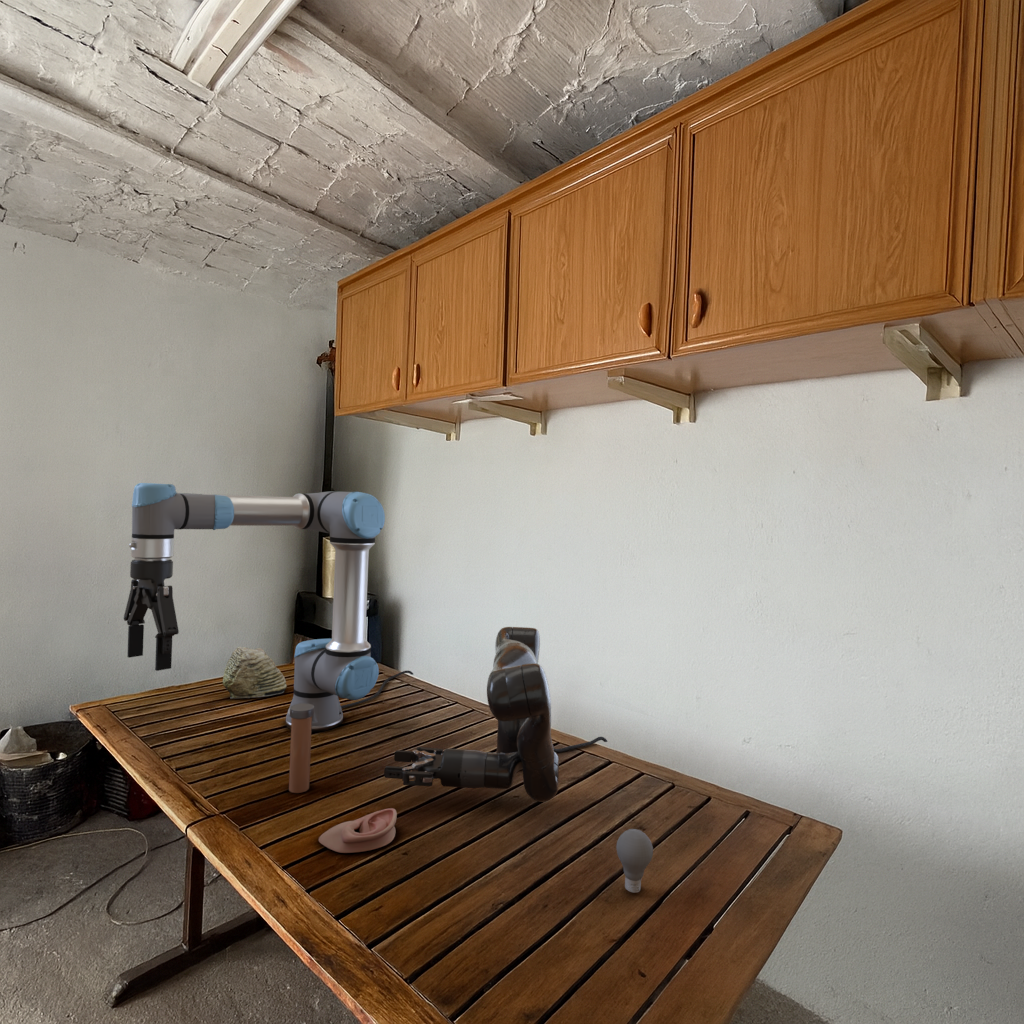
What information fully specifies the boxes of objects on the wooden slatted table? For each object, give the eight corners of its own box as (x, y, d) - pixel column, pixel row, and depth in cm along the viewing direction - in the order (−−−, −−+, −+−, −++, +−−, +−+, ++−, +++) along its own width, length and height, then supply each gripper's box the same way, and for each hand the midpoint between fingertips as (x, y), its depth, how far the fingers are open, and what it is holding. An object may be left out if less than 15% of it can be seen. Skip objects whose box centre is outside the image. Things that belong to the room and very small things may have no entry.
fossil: (218, 695, 195) (220, 647, 195) (278, 685, 208) (279, 640, 207) (228, 703, 189) (230, 653, 188) (289, 692, 201) (290, 645, 201)
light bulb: (610, 879, 108) (613, 822, 108) (644, 879, 109) (647, 822, 109) (619, 902, 102) (622, 840, 102) (655, 901, 103) (658, 840, 103)
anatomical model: (310, 826, 114) (340, 797, 125) (309, 848, 114) (339, 817, 125) (379, 837, 111) (403, 806, 122) (378, 859, 111) (403, 827, 123)
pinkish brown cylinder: (299, 782, 140) (302, 704, 140) (313, 787, 138) (316, 708, 138) (284, 789, 136) (287, 709, 136) (298, 794, 134) (301, 713, 134)
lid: (302, 709, 140) (302, 701, 140) (318, 713, 138) (319, 706, 138) (284, 715, 136) (284, 707, 136) (301, 720, 133) (301, 712, 133)
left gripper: (108, 554, 134) (105, 654, 134) (159, 565, 118) (155, 678, 119) (146, 552, 140) (143, 648, 140) (199, 563, 124) (195, 671, 124)
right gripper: (469, 738, 142) (398, 734, 143) (461, 764, 128) (381, 759, 129) (468, 772, 142) (396, 767, 143) (459, 801, 128) (380, 796, 129)
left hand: (148, 662), depth 129 cm, fingers open, 13 cm apart
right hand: (389, 763), depth 136 cm, fingers open, 8 cm apart
